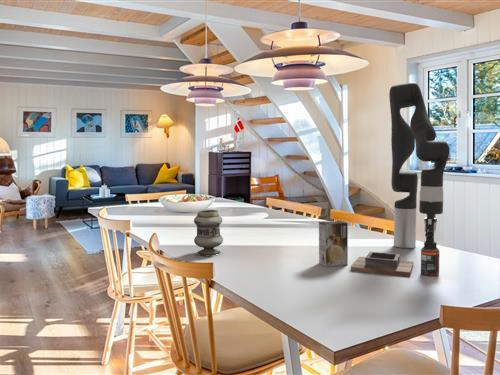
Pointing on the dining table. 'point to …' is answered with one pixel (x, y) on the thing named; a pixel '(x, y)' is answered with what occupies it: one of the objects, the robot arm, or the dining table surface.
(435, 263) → the supplement bottle
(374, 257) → the socket plate
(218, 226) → the apothecary jar
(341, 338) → the dining table surface
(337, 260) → the coffee box
